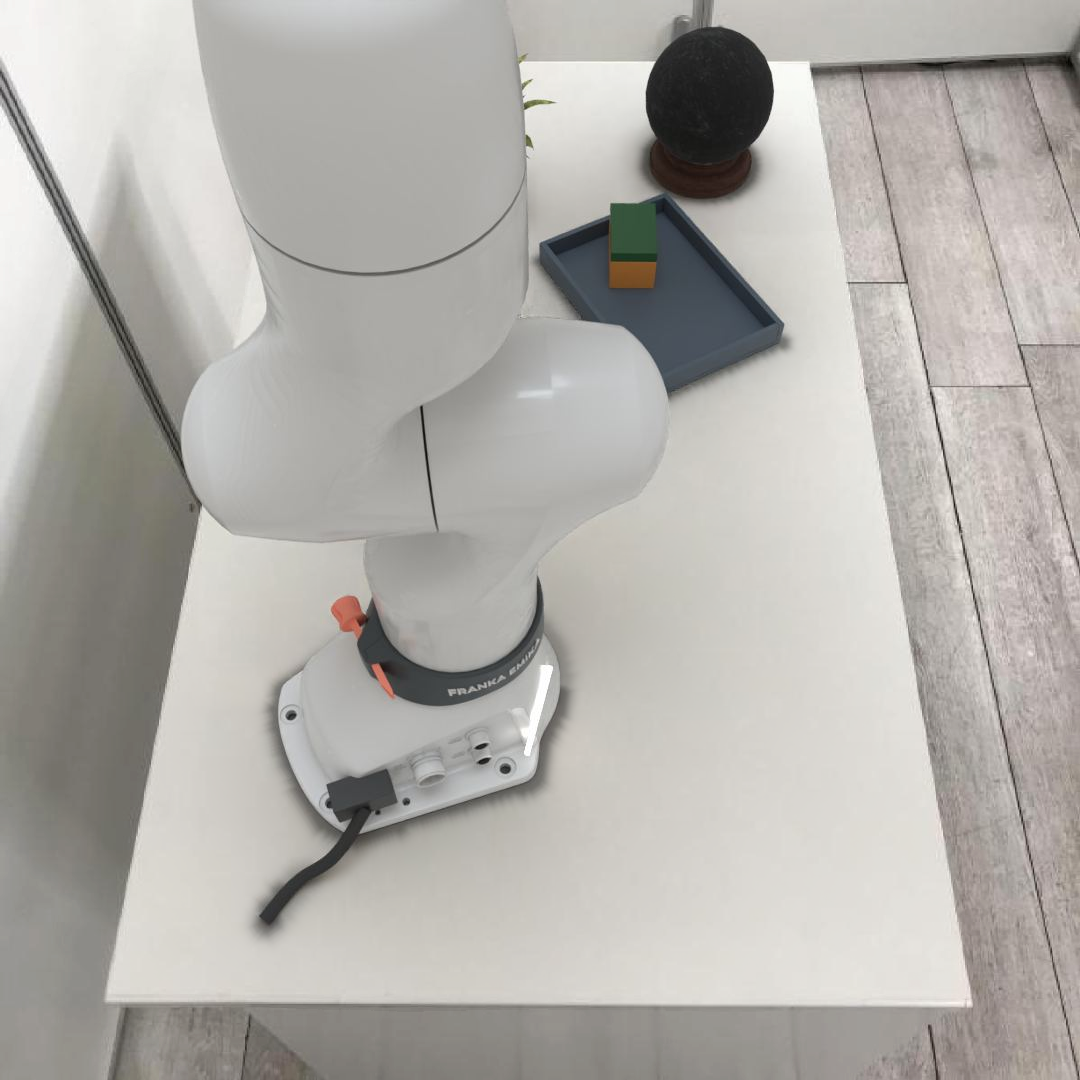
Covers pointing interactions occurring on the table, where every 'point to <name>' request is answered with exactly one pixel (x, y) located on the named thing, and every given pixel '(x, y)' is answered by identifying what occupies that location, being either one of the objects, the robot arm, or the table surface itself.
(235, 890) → the table surface
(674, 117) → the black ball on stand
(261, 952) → the table surface
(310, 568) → the table surface
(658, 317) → the tray
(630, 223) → the sponge
